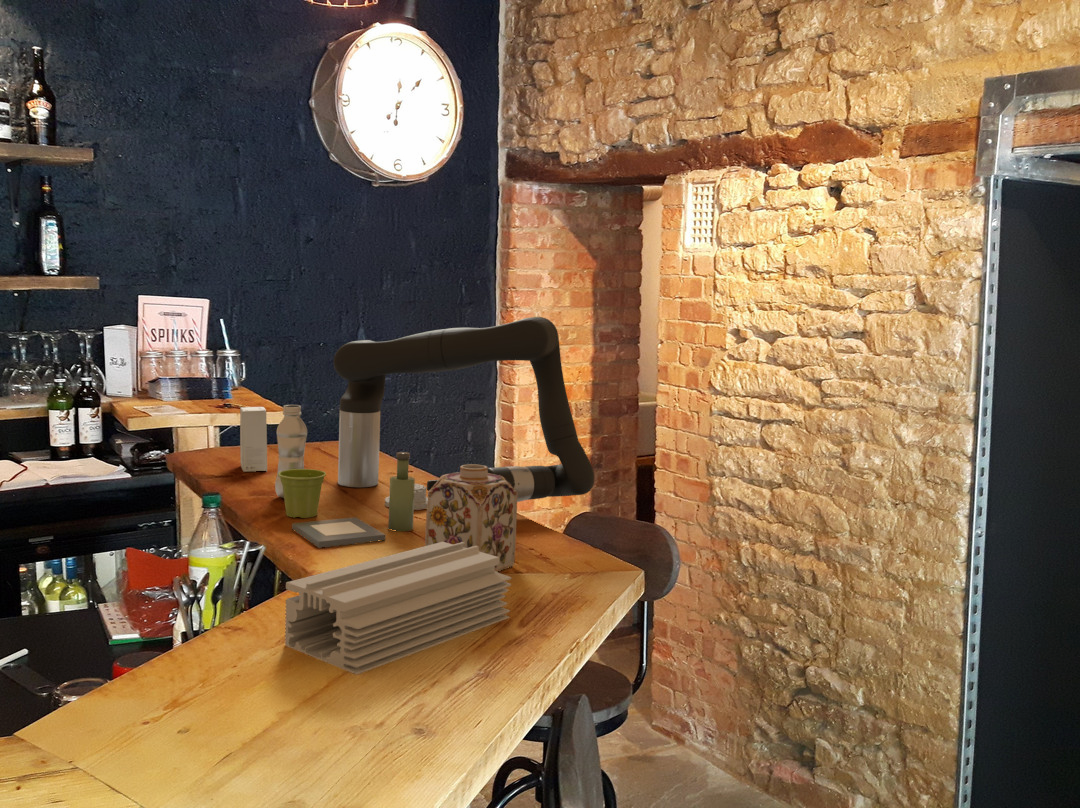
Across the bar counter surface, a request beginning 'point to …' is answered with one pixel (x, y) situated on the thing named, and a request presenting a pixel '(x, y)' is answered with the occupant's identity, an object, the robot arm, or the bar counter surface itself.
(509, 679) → the bar counter surface
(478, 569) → the aluminum extrusion profile
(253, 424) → the skincare box
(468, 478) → the decorative jar
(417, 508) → the mechanical component
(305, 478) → the plant pot
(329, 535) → the board
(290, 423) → the plastic bottle
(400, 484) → the bitters bottle
